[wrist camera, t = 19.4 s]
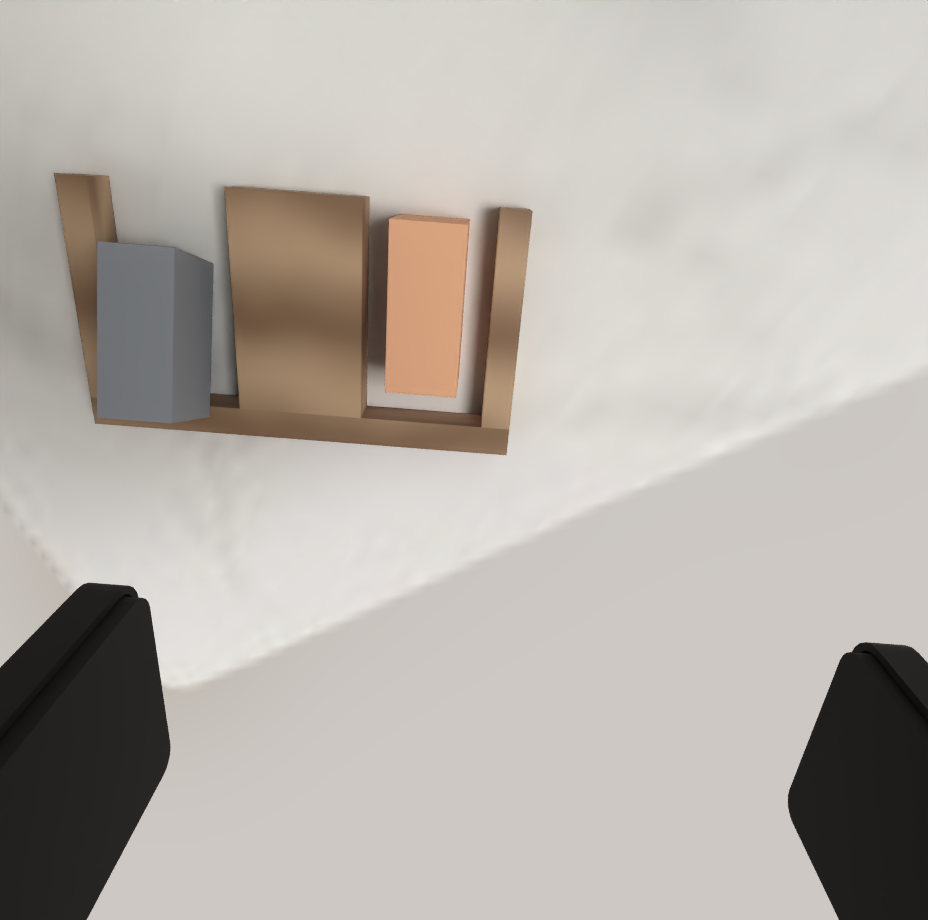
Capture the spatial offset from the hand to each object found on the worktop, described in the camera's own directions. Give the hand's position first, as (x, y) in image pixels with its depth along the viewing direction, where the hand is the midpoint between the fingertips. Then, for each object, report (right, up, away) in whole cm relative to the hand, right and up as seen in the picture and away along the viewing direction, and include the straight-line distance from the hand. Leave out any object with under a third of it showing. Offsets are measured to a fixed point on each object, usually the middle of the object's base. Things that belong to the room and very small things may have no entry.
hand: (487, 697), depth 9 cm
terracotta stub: (-2, +12, +25) cm, 28 cm away
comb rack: (-9, +11, +26) cm, 29 cm away
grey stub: (-15, +10, +25) cm, 31 cm away
